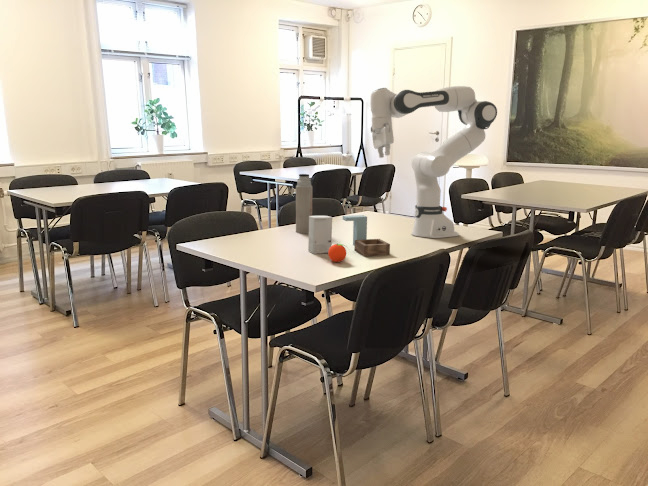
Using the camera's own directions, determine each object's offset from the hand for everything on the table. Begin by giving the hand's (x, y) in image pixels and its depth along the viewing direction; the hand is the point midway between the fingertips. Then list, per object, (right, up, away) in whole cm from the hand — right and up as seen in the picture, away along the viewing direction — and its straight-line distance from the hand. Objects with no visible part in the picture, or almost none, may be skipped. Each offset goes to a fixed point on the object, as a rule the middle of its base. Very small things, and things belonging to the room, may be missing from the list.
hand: (384, 156), depth 242 cm
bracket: (-14, -40, -10) cm, 44 cm away
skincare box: (-29, -43, -21) cm, 56 cm away
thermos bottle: (-37, -34, +21) cm, 54 cm away
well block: (-8, -43, -22) cm, 49 cm away
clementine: (-22, -46, -37) cm, 63 cm away
